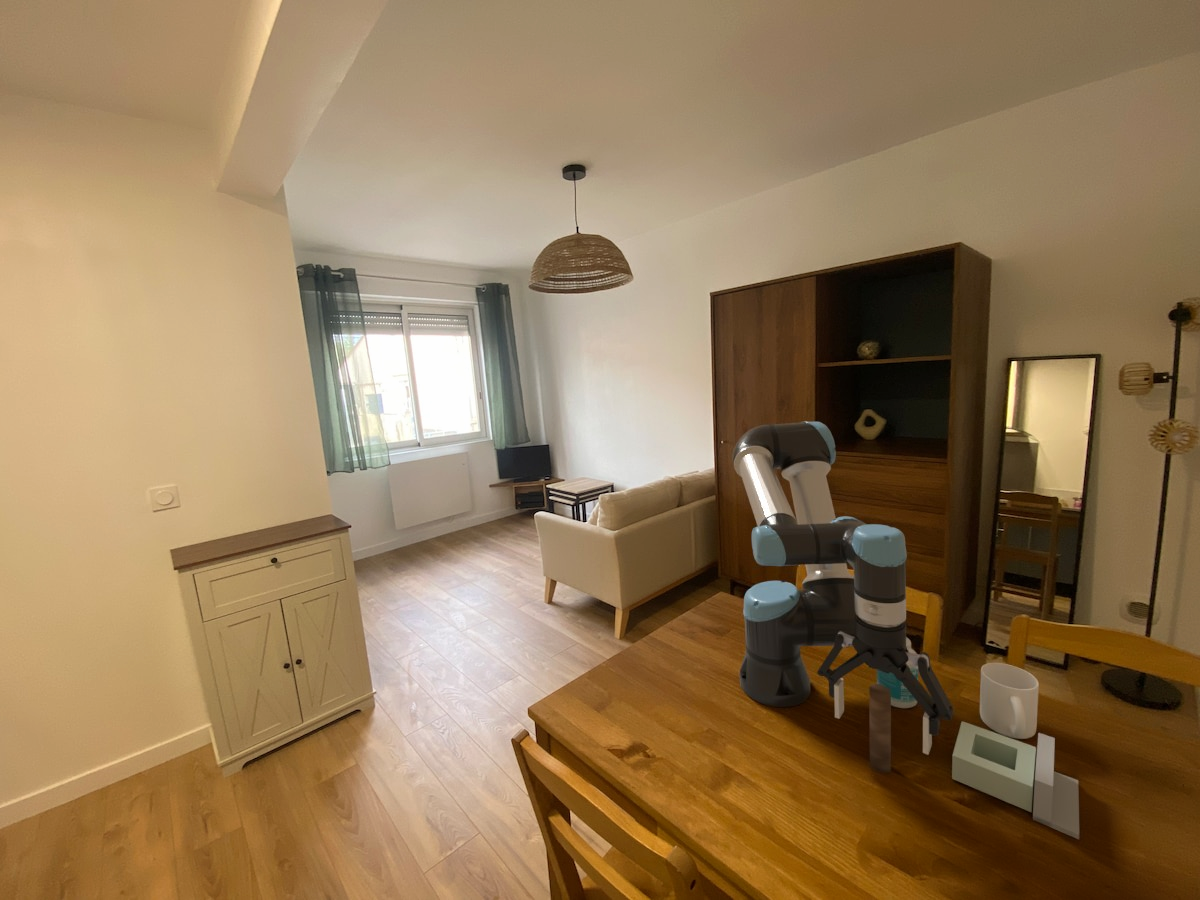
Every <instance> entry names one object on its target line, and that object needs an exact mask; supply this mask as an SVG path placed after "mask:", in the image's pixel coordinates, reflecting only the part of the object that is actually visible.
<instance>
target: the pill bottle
mask: <svg viewBox="0 0 1200 900" xmlns="http://www.w3.org/2000/svg"><path fill="white" fill-rule="evenodd" d="M906 647H907V650H908V651H909V653H915V654H917V652H916V651H915V650H914V649H913V648H912V642H911V640H910V639H909V638H908V637H907V636H906ZM906 664H907V665H908V667H909V668H910V671H911V673H912V674H913V675H914V676H915V677H916V679H917V680H918V681H919V674H920V673H919V670H918V669H916V668H915V667H914V665H913V663H912V662H911V661H907V662H906ZM899 669H900V668H899ZM876 684H880V685H883V686H885V687H887V688H888V689H889V690H890V691H891V707H895V708H900V709H910V708H911V709H912V708H914V707H915V706H917V704H918V702H917V701H916V699H915V698H914V697H913V696H912V694H911V693H910V692H909V691H908V689H907V688H906V687H905V686H904V684H903V683H902V682H901V681H899V680H898V679H897V678H896V677H895V676H894V674H893V673H889V674H888V673H885V672H882V671H881V670H879V669H876Z"/></svg>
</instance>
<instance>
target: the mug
mask: <svg viewBox="0 0 1200 900" xmlns="http://www.w3.org/2000/svg"><path fill="white" fill-rule="evenodd" d="M1039 683H1040V682H1039V681H1038V679H1037V678H1036V676H1034V675H1033V674H1032V673H1030V672H1029V671H1027V670H1025V669H1023V668H1020V667H1019V666H1015V665H1011V664H1007V663H1003V662H988V663H985V664H983V665H982V666H981V667H980V689H979V691H980V692H979V694H980V695H979V714H980V715H979V716H980V719H981V720H982V722H983V723H984V725H986V726H987V727H988V728H990V729H991V730H992V731H993V732H995V733H997V734H1000V735H1003V736H1005V737H1008V738H1011V739H1015V740H1018V739H1019V740H1024V739H1030V738H1032V737H1034V736H1035V734H1036V733H1037V724H1038V705H1039V691H1040V690H1039V689H1040V688H1039V687H1040V686H1039V685H1040V684H1039Z"/></svg>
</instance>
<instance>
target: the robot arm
mask: <svg viewBox="0 0 1200 900" xmlns="http://www.w3.org/2000/svg"><path fill="white" fill-rule="evenodd" d="M835 443H836V442H835V439H834V436H833V435H832V432H831V430H830V429H829V428H828V426H827V425H826V424H824V423H822V422H821V421H807V420H805V421H801V422H792V423H791V422H790V423H778V424H777V423H775V424H762V425H759V426H755V427H753V428H751V429H749V430H748V431H746V432H745V433H744V434H743V435H742V436H741V437H740V438H739V439H738V441H737V442H736V443H735V446H734V448H733V450H732V458H731V459H732V463H733V464H732V465H733V468H734V470H735V472H736V474H737V475H738V476H739V477H741V480H742V483H743V486H744V488H745V491H746V495H747V498H748V501H749V504H750V507H751V510H752V513H753V516H754V519H755V522H756V527H753V528H752V531H751V548H752V554H753V557H754V560H755V562H756V563H757V564H758V565H759V566H769V567H770V566H773V567H774V566H775V567H783V566H804V565H805V569H806V576H805V578H804V579H803V581H802V582H801V587H802V590H799V589H798V587H797V586H795V585H794V584H793V583H791V582H788V581H784V582H783V581H782V580H767V581H763V582H759V583H756V584H754V585H752V586H751V587H750V588H749V589H747V590H746V592H745V594H744V597H743V611H742V614H743V616H744V618H743V619H744V633H745V635H744V636H745V653H744V656H743V658H742V662H741V665H740V668H739V686H740V687H741V689H742V691H743V692H744V693H745V694H746V695H747V696H748V697H749V698H751V699H752V700H754V701H756V702H758V703H760V704H763V705H766V706H770V707H775V708H788V707H794V706H797V705H800V704H802V703H804V702H806V700H807V699H808V698H809V696H810V694H811V681H810V679H811V678H810V676H809V674H808V671H807V668H806V667H805V664H804V661H803V658H802V656H801V655H802V654H801V647H832V648H831V650H830V651H829V652H828V655H827V656H826V657H825V659H824V660H823V662H822V664H821V666H820V667H819V668H818V670H817V674H818V675H819V676H820V677H823V678H826V680H827V681H828V695H829V697H830V698H832V699H833V700H834V718H835V719H838V720H840V718H841V717H842V715H843V714H844V712H845V693H844V692H845V690H844V689H845V687H844V685H845V684H844V683H845V682H844V678H843V677H845V676H846V675H847V674H849V673H850V672H852V671H854V670H855V669H857V668H859V667H860V666H861V665H863V664H865V665H866V666H868V668H870V669H872V670H877V669H879V670H881V671H882V672H885V673H888V674H889V673H893V674H894V676H895V677H896V678H897V679H898V680H899V681H901V682H902V683H903V684H904V686H905V687H906V688H907V689H908V691H909V692H910V693H911V694H912V696H913V697H914V698H915V699H916V701H917V704H919V706H920V707H921V708H922V710H923V711H924V713H923V716H922V753H923V754H925V755H929V754H930V751H931V748H932V747H933V746H932V744H933V740H932V739H933V737H932V736H934V737H937V736H938V735H939V731H940V729H941V727H940V723H941V721H940V720H941V719H944V720H945V721H951V720H952V717H953V714H954V711H955V709H954V707H953V705H952V704H951V701H950V699H949V697H948V696H947V694H946V692H945V690H944V688H943V686H942V685H941V683H940V681H939V679H938V677H937V676H936V673H935V672H934V670H933V668H932V667H931V660H930V655H929V653H927V652H924V651H922V652H920V654H918V653H916V654H915V653H909V651H908V650H907V647H906V637H907V623H906V620H907V594H906V592H907V591H906V590H907V587H906V585H907V580H906V579H907V558H908V554H907V553H908V551H907V548H906V537H905V535H904V532H902V531H901V530H900V529H898V528H896V527H892V526H889V525H886V524H885V525H884V524H880V523H879V524H876V523H874V524H873V523H871V524H867V523H865V522H863V521H862V520H859V519H857V518H855V517H853V516H848V515H847V516H845V515H844V516H839V517H837V518H836V514H835V509H834V505H833V500H832V496H831V492H830V487H829V483H828V479H827V475H828V474H829V472H830V471H831V469H832V465H833V464H834V463H835V461H836V455H837V453H836V444H835ZM775 469H777V470H779V469H780V473H781V476H782V478H783V479H785V480H786V481H788V483H789V486H790V491H791V497H792V501H793V507H794V512H793V510H792V507H791V505H790V503H789V501H788V499H787V496H786V495H785V491H784V490H783V487H782V484H781V482H780V480H779V478H778V476H777V474H776V471H775ZM794 513H795V514H794ZM848 566H849V567H850V568H851V569H852V570H853V574H852V573H850V572H849V569H848ZM848 647H853V648H854V650H855V651H856V652H857V653H856V654H854V655H853V656H851V657H850V658H849V659H847V660H846V661H845V662H843V663H842V664H840V665H839V666H837V667H836V668H834V669H831V666H832V665H833V663H834V662H835V660H836V658H837V657H838V656H839V655H840V653H841V651H842V650H843V648H848ZM907 661H911V662H912V663H913V665H914V667H915V668H916V669H918V670H919V673H918V674H919V677H920V678H921V680H922V681H923V683H924V685H925V687H926V689H927V690H928V691H927V690H926V689H925V687H924V686H923V685H922V683H921V682H920V681H919V679H918V680H917V679H916V677H915V676H914V675H913V674H912V673H911V671H910V668H909V667H908V665H907V664H906V662H907ZM899 668H900V669H899Z"/></svg>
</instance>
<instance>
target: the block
mask: <svg viewBox="0 0 1200 900" xmlns="http://www.w3.org/2000/svg"><path fill="white" fill-rule="evenodd" d="M951 757H952V758H951V759H952V761H951V762H952V764H951V768H952V769H951V774H952V775H951V779H952V780H955V781H956V782H959V783H961V784H964V785H967V786H968V787H971V788H973V789H975V790H978V791H979V792H982V793H985V794H986V795H989V796H991V797H994V798H995V799H996V798H997V799H999V800H1001V801H1004V802H1005V803H1007V804H1011V805H1013V806H1015V807H1018V808H1020V809H1023V810H1025V811H1027V812H1029V813H1032V814H1033V801H1034V785H1035V771H1036V758H1037V746H1033V745H1031V744H1029V743H1025V742H1023V741H1020V740H1018V739H1015V738H1011V737H1007V736H1004V735H1002V734H1000V733H998V732H995V731H991V730H988V729H986V728H983V727H980V726H978V725H974V724H971V723H968V722H965V721H963V720H962V721H961V723H960V727H959V730H958V735H957V737H956V741H955V745H954V749H953V751H952V756H951Z"/></svg>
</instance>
